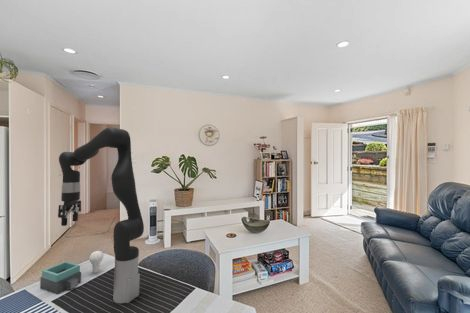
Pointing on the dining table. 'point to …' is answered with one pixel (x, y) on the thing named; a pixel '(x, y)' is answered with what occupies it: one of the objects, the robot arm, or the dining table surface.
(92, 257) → the lightbulb
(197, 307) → the dining table surface
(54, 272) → the teal and grey box
